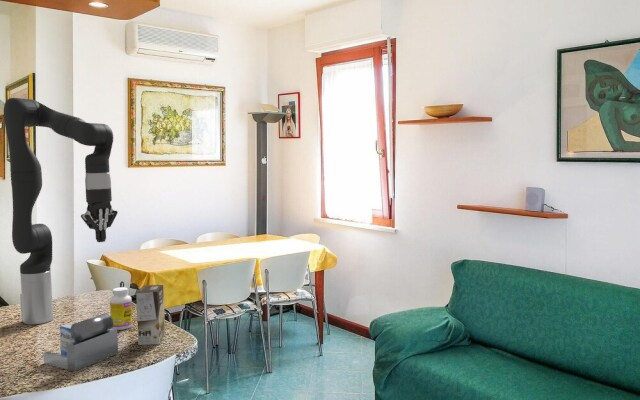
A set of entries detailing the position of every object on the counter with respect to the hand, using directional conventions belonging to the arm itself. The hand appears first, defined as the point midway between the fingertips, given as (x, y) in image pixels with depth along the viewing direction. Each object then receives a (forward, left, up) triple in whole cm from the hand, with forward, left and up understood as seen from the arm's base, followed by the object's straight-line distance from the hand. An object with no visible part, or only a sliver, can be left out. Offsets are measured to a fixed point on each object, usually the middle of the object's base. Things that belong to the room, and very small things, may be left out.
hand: (101, 241), depth 177 cm
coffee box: (+20, 0, -29) cm, 35 cm away
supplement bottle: (+2, +5, -29) cm, 30 cm away
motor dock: (+14, -20, -29) cm, 38 cm away
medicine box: (+10, -19, -29) cm, 37 cm away
